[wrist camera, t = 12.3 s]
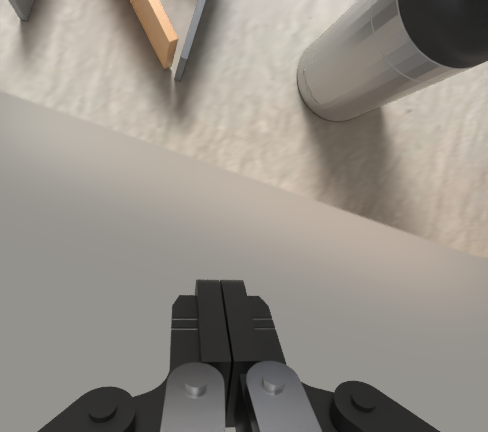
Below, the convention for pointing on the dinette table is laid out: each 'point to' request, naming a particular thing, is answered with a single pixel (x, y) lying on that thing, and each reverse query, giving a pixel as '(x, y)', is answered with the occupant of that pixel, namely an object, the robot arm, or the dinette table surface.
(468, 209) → the dinette table surface
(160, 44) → the side door
